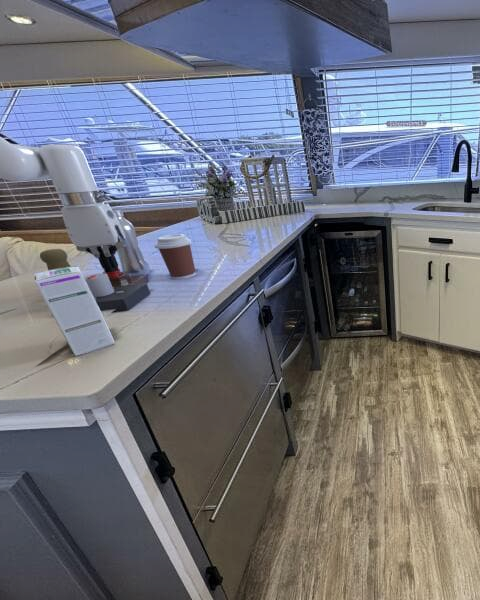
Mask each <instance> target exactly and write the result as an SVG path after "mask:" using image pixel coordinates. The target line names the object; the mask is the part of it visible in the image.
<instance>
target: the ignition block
mask: <svg viewBox="0 0 480 600" xmlns="http://www.w3.org/2000/svg"><path fill="white" fill-rule="evenodd" d="M121 274H122V275H120V276H117V277H112V278H109V280H110V282H111V285H112V287H116V286H126V285H136V284H145V283H149V278H148V276H147V275H148V274H147V275H136V276H129V273H128V272H122V271H121Z"/></svg>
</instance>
